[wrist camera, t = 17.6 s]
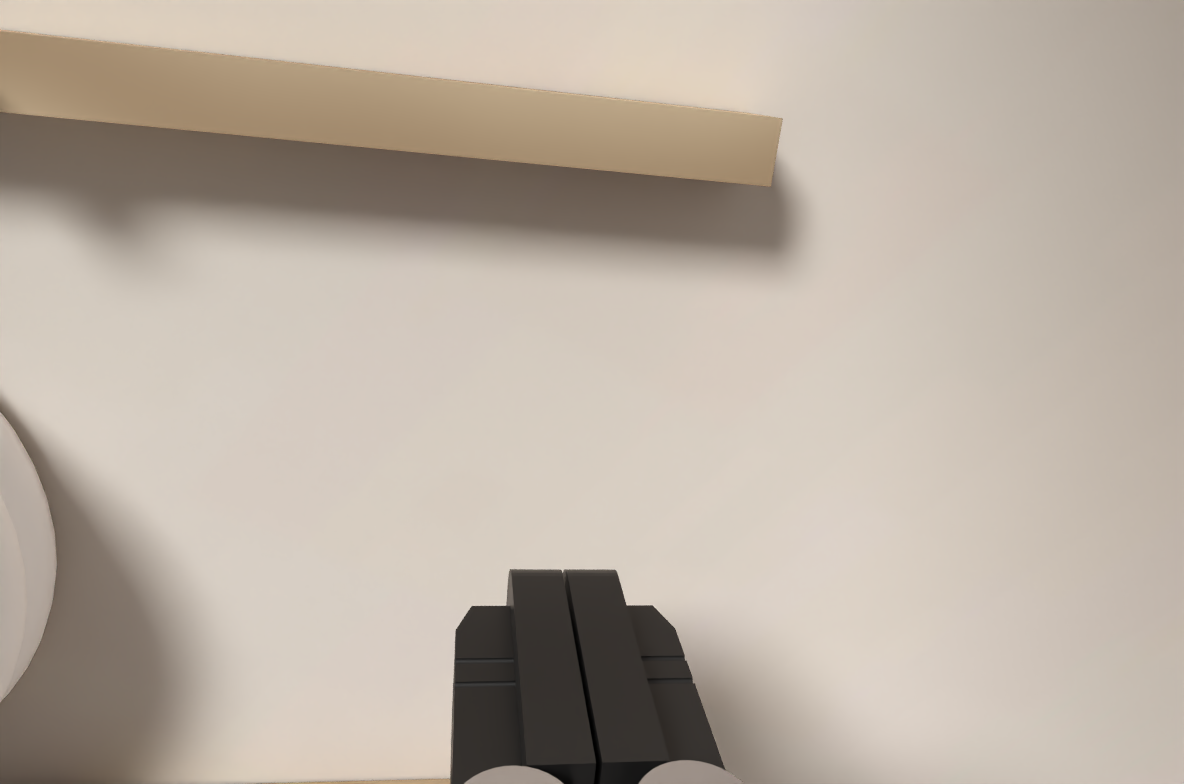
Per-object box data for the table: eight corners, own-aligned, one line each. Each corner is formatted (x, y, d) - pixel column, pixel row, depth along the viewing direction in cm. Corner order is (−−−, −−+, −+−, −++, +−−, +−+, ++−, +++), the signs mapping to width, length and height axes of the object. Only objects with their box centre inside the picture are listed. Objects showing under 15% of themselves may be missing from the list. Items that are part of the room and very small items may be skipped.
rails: (-1125, -96, 10) (-1546, -139, 8) (777, 116, 14) (832, 125, 12) (-639, 849, 15) (-817, 975, 13) (656, 808, 19) (680, 900, 17)
